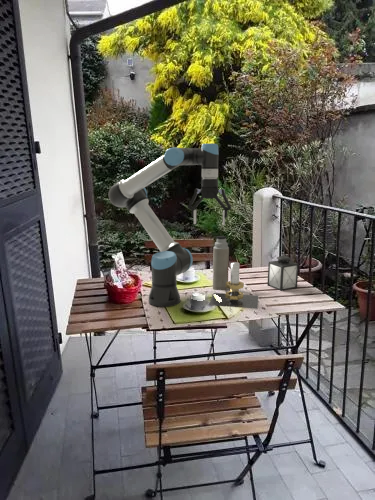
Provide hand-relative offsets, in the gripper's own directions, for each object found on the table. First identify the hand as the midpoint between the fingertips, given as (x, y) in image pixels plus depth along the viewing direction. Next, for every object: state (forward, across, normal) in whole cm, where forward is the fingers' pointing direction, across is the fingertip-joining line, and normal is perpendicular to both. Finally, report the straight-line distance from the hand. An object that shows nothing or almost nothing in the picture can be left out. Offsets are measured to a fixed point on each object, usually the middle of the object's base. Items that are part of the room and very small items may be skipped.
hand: (209, 224), depth 193 cm
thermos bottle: (+37, +4, +17) cm, 41 cm away
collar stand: (+37, +13, -4) cm, 39 cm away
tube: (+35, +13, -4) cm, 38 cm away
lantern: (+37, +36, +27) cm, 58 cm away
